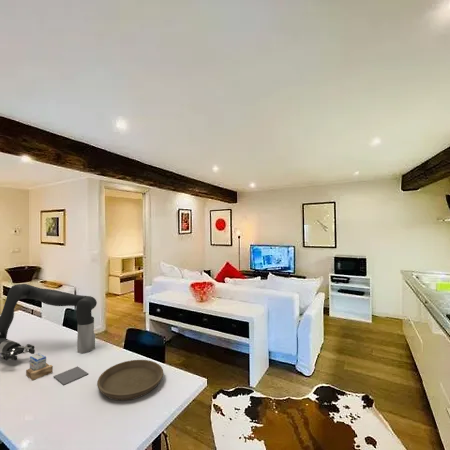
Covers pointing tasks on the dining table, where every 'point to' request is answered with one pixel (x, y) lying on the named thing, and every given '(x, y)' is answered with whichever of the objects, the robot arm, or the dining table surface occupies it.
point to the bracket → (39, 372)
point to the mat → (70, 375)
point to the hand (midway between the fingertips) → (25, 355)
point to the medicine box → (37, 361)
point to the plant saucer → (130, 379)
